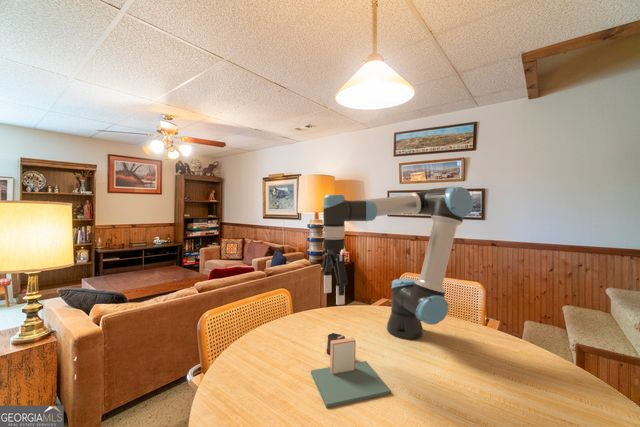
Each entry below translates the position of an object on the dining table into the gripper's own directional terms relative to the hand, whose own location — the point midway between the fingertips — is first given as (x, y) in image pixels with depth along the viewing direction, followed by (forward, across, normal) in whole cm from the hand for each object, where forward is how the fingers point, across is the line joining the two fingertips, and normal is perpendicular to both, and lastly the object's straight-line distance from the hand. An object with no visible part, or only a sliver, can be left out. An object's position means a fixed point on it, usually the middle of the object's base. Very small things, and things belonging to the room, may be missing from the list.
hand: (333, 298), depth 97 cm
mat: (+22, +14, 0) cm, 26 cm away
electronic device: (+22, -1, +3) cm, 23 cm away
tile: (+21, +9, 0) cm, 23 cm away
